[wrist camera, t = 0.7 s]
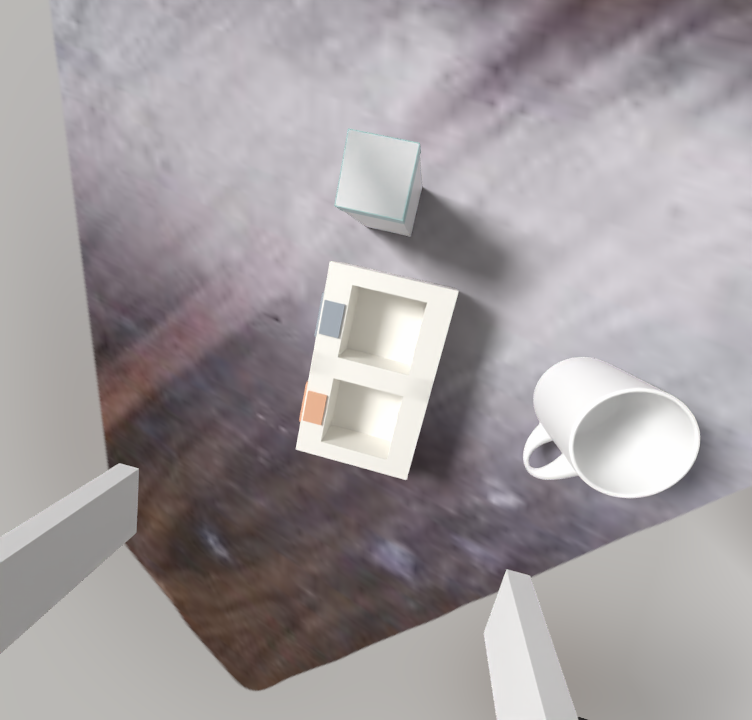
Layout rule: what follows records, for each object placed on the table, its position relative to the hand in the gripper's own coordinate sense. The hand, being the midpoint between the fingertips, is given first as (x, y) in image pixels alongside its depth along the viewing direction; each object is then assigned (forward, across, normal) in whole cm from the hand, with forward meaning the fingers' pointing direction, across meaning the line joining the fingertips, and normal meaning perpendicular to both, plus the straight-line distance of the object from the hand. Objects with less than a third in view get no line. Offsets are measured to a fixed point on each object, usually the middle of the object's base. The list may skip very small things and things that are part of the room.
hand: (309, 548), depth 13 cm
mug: (+27, +18, 0) cm, 32 cm away
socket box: (+27, -1, 0) cm, 27 cm away
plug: (+27, -3, +15) cm, 31 cm away
